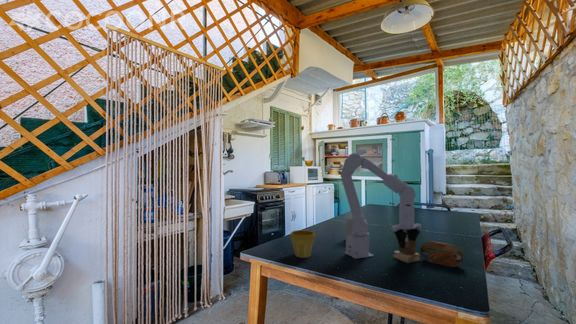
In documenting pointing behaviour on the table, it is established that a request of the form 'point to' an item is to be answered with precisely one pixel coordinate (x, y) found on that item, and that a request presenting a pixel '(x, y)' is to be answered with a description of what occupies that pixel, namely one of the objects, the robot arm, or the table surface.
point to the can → (348, 226)
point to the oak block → (406, 256)
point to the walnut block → (409, 247)
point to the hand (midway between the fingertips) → (406, 247)
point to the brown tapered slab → (442, 253)
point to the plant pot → (302, 242)
